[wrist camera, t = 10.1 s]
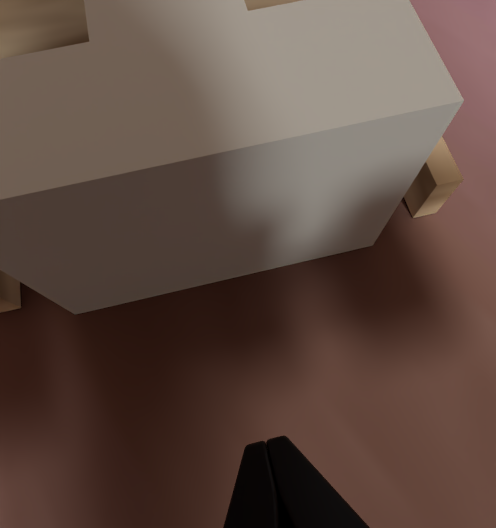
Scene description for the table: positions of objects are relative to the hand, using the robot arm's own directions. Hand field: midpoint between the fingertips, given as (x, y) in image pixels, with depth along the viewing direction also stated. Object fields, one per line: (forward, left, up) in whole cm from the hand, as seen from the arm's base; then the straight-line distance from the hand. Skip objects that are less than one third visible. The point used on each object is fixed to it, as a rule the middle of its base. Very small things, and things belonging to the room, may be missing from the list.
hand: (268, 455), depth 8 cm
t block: (+9, +9, -6) cm, 14 cm away
